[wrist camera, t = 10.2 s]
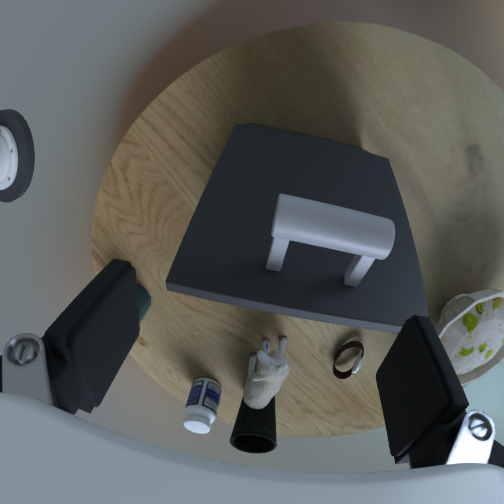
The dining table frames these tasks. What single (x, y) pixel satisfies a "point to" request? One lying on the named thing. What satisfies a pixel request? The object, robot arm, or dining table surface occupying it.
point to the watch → (356, 364)
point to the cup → (255, 428)
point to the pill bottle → (202, 405)
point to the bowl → (473, 333)
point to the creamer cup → (142, 302)
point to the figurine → (265, 375)
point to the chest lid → (302, 234)
